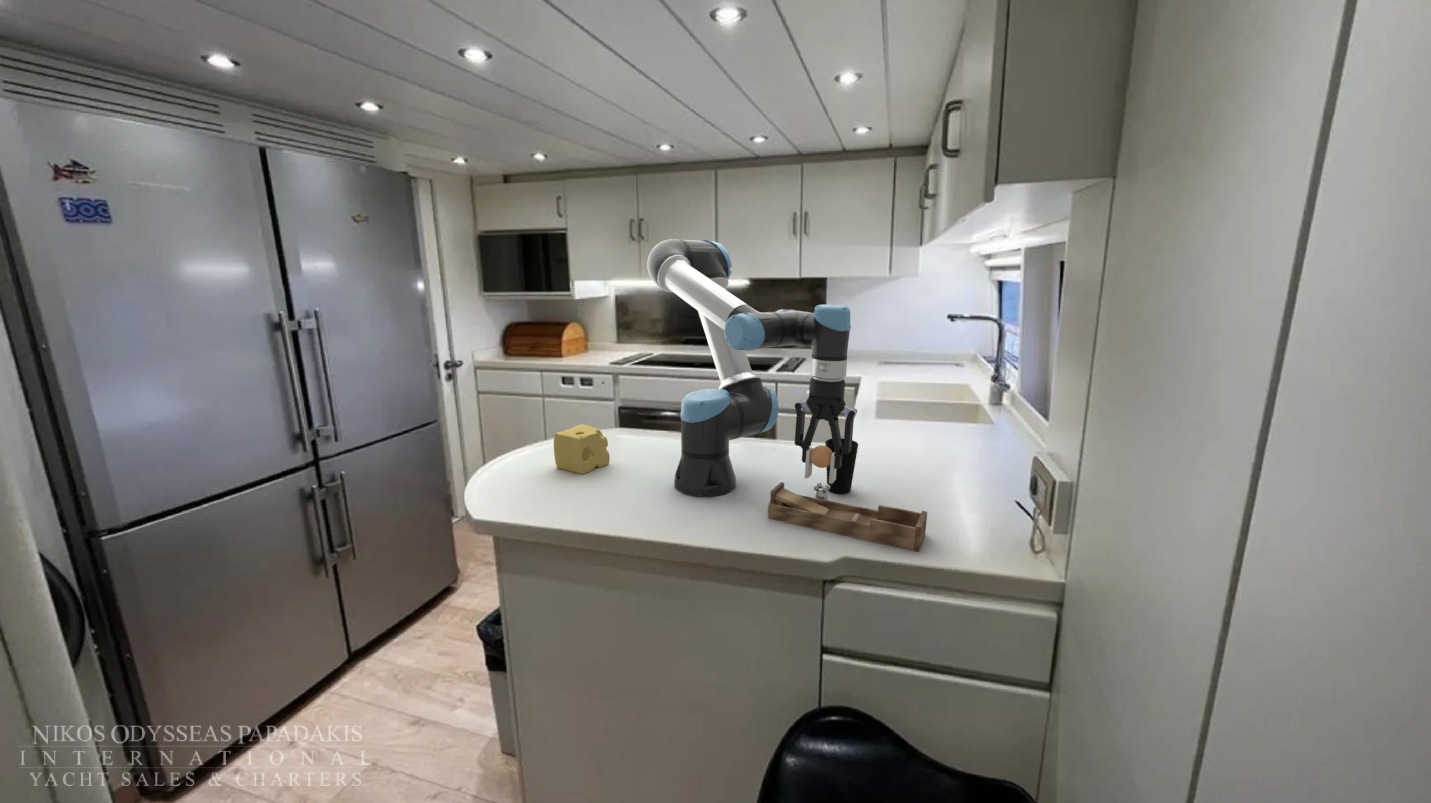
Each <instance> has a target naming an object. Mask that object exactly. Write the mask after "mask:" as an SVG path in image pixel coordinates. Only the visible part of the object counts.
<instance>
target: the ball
mask: <svg viewBox="0 0 1431 803" xmlns="http://www.w3.org/2000/svg"><path fill="white" fill-rule="evenodd" d="M813 448H814V449H813V450H812V452H811V455H810V457H811V461H812V465H814V466H815V467H817V468H820V469H822V468H823V469H824V468H825V469H826V467H827V466H829V465H830V463H831V455H832V454H833V453H832V451H831V449H830V448H828V447H827V446H825V445H820V444H819V445H817V446H815V447H813Z"/></svg>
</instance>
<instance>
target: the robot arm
mask: <svg viewBox="0 0 1431 803" xmlns="http://www.w3.org/2000/svg"><path fill="white" fill-rule="evenodd" d="M646 262H647V263H646V264H647V265H646V266H647V272H648V274H649V277H650V279H651V280H652V281H653V282H654V283H655V284H656V286H658V288H660V289H662V290H663V291H664V292H667V293H674V294H675V295H676V296H678V297H679V298H680V299H682V300H683V301H684V302H685V303H686V304H688V305H690V306H691V307H692V308H694V309H695V310H696V311H697V313H698V316H699V319H700V322H701V325H702V327H703V331H704V334H705V337H706V340H707V344H708V347H709V350H710V353H711V356H712V359H713V362H714V366H715V369H716V372H717V375H718V377H719V378H718V380H719V382H720V385H719V387H718V388H714V387H713V388H712V387H711V388H704V389H698V390H694V391H692V392H689V393H687V394H686V395H685V396H684V397H683V399H682V401H681V404H680V405H681V408H680V413H679V414H680V415H679V416H680V428H681V429H680V433H681V435H680V437H681V438H680V444H681V445H680V446H681V447H680V448H681V449H680V450H681V454H680V455H681V456H680V459H679V461H678V464H677V468H676V471H675V474H674V488H675V489H676V491H678V492H681V493H682V494H685V495H689V496H693V497H715V496H716V497H717V496H722V495H726V494H728V493H730V492H732V491H733V490H735V488H736V484H737V483H736V479H737V477H736V474H735V470H734V468H733V464H732V461H731V457H730V441H732V440H737V439H740V438H744V437H749V436H757V435H759V434H761V433H765V432H767V431H769V430H771V429H772V428H773V427H774V426H775V424H776V422H777V418H778V417H779V412H780V410H779V409H780V406H779V400H778V397H777V395H776V393H775V392H774V390H771V388H770V387H767V386H764V385H763V382H762V379H761V377H760V376H759V375H757V374H755V373H753V371H752V368H751V365H750V361H749V359H748V355H747V352H746V351H750V352H751V351H754V350H760V349H767V348H777V347H785V346H786V347H787V346H800V347H806V348H807V347H808V348H811V358H810V376H811V378H810V379H809V386H808V387H809V388H808V389H809V390H808V397H807V399H806V400H804V401H802V400H799V401H797V402H795V403H794V409H795V412H796V418H795V433H794V445H795V446H799V448H801V449H802V452H801V461H802V463H805V467H804V468H805V470H804V479H809V478H810V477H811V476H812V475H813V463H812V461H811V457H810V455H811V452H812V450H813V449H814V448H815V447H811V446H812V442H813V439H814V437H815V433H816V430H817V428H818V424H819V422H820V421H821V420H822V421H823V420H824V421H826V422H828V426H829V430H830V434H831V439H832V441H833V446H834V453H833V454H832V455H831V463H830V476H829V483H831V484H832V483H833V482H834V481H835V480H836V470H837V469H839V468H840V467H841V464H842V455H843V454H848V453H849V452H850V451H851V449H852V440H853V435H854V434H853V432H854V420H855V417H856V416H857V413H858V410H857V408H851V407H849V406H847V405H846V402H845V390H846V381H845V379H844V378H846V376H847V365H848V349H849V348H848V347H849V342H850V341H849V340H850V331H851V310H850V308H849V307H848V306H846V305H841V304H818V305H816V306H815V307H814V312H809V311H802V310H795V309H793V308H792V309H791V308H790V309H784V308H783V309H782V308H781V309H778V310H776V311H768V312H767V311H766V312H761V311H758V310H756V309H754V308H753V307H751V305H749V304H747V303H746V302H744V301H743V300H741V299H740V298H738V297H737V296H735V295H734V294H732V293H731V292H729V291H728V290H727V287H728V285H729V278H730V277H731V275H732V270H731V268H732V267H733V266H732V259H731V256H730V253H729V252H728V250H727V249H726V247H725V246H724V245H723V244H721V243H720V242H717V241H713V240H708V239H701V240H695V239H694V240H693V239H678V238H669V239H665V240H662V241H660V242H659V243H657V244H656V245H655V246H654V247H653V248H652V249H651V251H650V252H649V254H648V258H647V261H646ZM807 408H808V409H809V411H810V413H811V418H810V420H809V421H810V422H809V425H808V428H807V431H806V432H805V425H806V424H805V422H806V410H807ZM843 412H844V417H845V423H844V432H843V434H844V436H843V438H844V446H843V447H842V441H841V438H842V437H841V436H842V435H841V430H840V424H839V422H840V421H839V415H841V413H843ZM804 434H805V435H804ZM804 436H805V437H804Z"/></svg>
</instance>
